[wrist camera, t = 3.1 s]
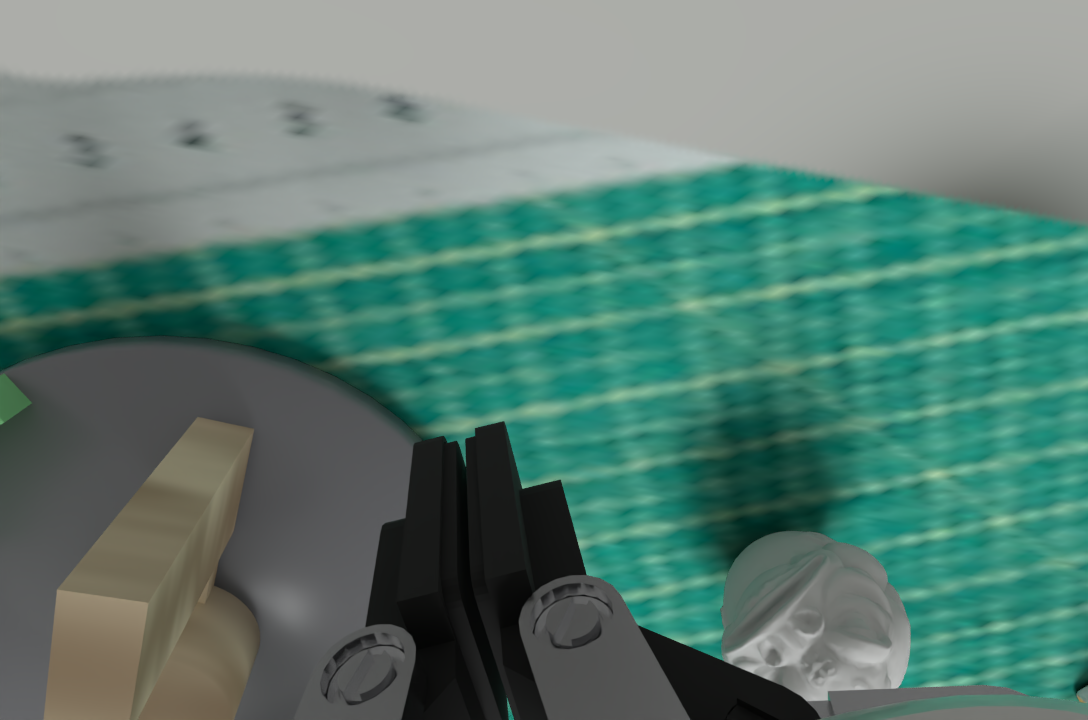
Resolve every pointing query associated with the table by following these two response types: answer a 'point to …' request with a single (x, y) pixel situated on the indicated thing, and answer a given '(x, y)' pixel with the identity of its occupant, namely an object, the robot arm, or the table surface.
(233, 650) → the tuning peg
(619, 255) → the table surface
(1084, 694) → the small box
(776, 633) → the grey rounded lump
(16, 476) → the dial face
